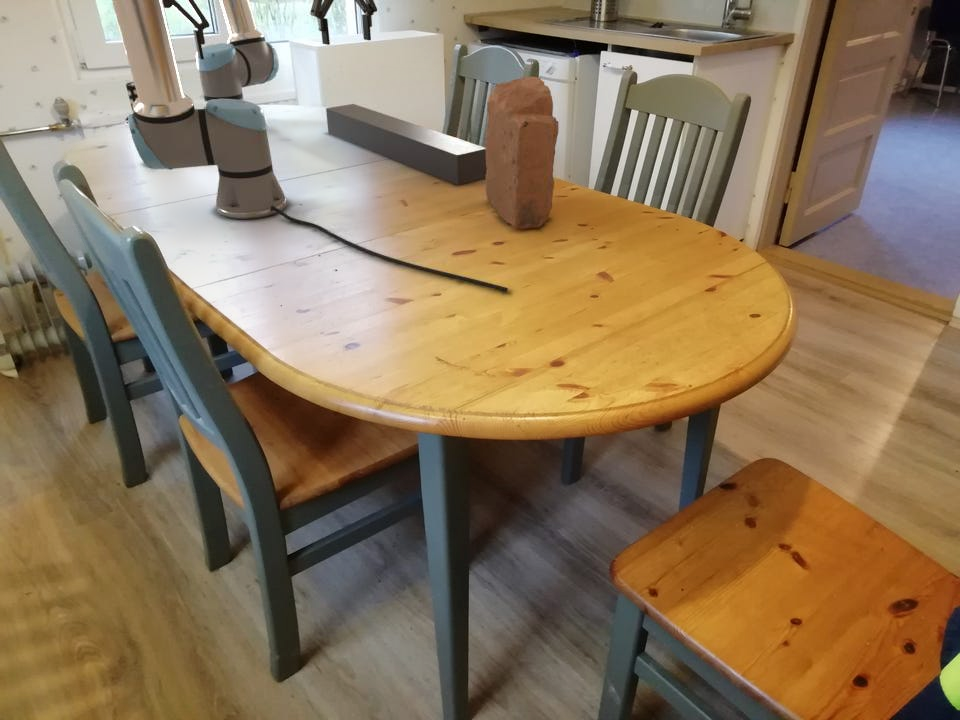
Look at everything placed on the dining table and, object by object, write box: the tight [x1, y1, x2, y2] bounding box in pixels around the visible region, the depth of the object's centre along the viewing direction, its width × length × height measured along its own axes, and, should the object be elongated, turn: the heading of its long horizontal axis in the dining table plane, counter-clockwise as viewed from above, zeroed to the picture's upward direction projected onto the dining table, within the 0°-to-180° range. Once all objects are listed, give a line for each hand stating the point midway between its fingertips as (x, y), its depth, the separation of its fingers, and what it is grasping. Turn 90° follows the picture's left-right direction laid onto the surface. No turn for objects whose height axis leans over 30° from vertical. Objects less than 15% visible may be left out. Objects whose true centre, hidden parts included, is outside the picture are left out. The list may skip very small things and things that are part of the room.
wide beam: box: [325, 103, 487, 186], centre depth 194 cm, size 63×10×8 cm, turn 41°
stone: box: [484, 76, 560, 230], centre depth 149 cm, size 22×11×28 cm, turn 18°
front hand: (173, 60), depth 174 cm, fingers open, 13 cm apart
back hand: (347, 42), depth 197 cm, fingers open, 13 cm apart
